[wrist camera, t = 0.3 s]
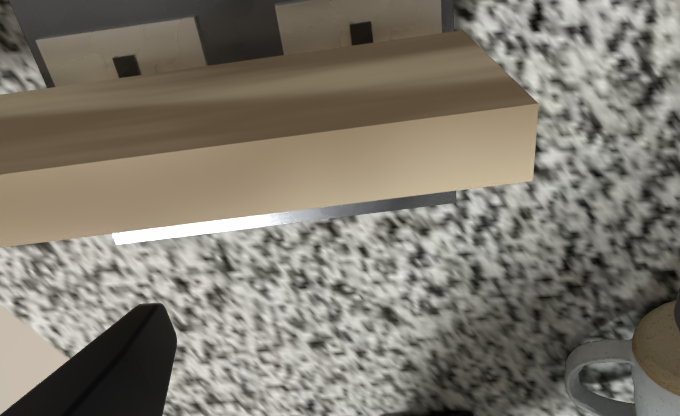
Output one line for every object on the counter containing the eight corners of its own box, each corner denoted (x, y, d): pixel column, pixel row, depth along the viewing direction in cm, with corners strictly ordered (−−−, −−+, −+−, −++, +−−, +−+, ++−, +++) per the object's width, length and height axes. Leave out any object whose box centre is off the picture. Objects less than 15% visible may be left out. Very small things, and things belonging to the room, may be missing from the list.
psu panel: (449, 186, 25) (458, 207, 23) (126, 227, 25) (113, 249, 24) (442, -102, 18) (454, -102, 17) (16, -37, 19) (-13, -31, 18)
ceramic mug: (739, 268, 28) (863, 384, 21) (742, 364, 32) (848, 486, 25) (544, 327, 30) (602, 448, 23) (570, 409, 34) (626, 533, 27)
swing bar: (447, 76, 22) (531, 198, 13) (-60, 145, 23) (-304, 301, 14) (446, 1, 20) (540, 81, 11) (-99, 79, 21) (-401, 208, 12)
